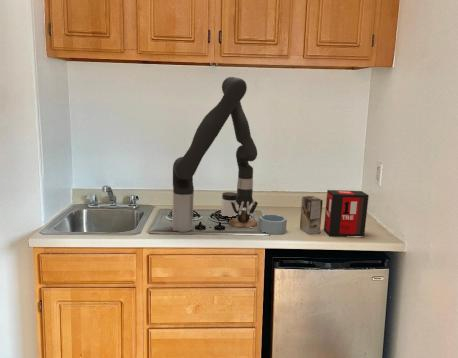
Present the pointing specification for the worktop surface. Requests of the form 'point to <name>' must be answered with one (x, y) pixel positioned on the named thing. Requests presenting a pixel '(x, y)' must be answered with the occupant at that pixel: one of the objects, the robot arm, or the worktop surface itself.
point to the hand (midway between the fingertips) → (243, 221)
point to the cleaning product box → (345, 213)
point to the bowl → (272, 224)
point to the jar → (228, 204)
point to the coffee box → (311, 214)
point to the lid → (242, 222)
